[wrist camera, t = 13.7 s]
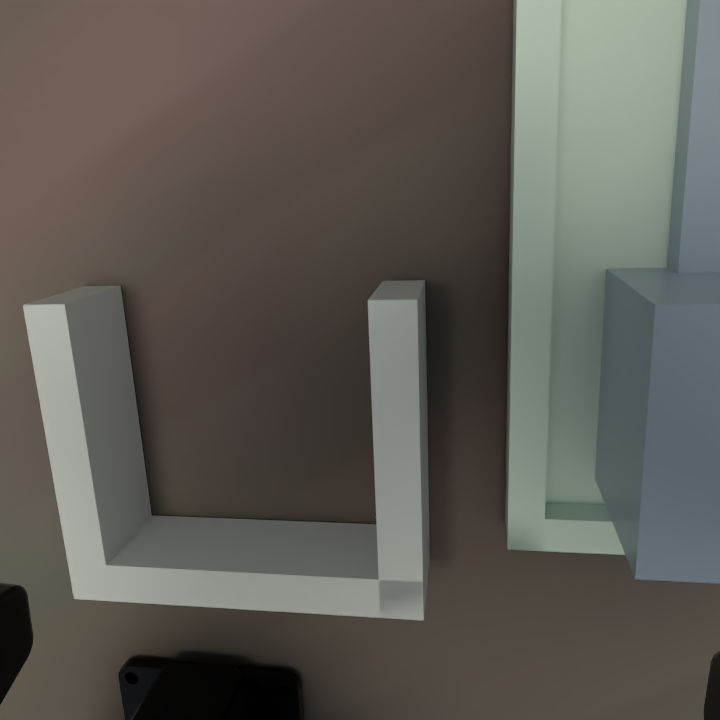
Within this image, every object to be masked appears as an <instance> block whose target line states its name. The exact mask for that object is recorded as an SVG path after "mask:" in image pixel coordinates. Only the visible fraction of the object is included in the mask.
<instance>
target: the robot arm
mask: <svg viewBox="0 0 720 720" xmlns="http://www.w3.org/2000/svg"><path fill="white" fill-rule="evenodd" d="M32 644H33V631H32V623H31V616H30V609H29V602H28V595H27V592H26V590H25V589H24V588H23V587H22V586H20V585H14V584H4V583H0V704H1V703H2V701H3V699H4V697H5V696H6V694H7V692H8V691H9V689H10V687H11V685H12V684H13V682H14V680H15V679H16V677H17V675H18V673H19V672H20V670H21V668H22V667H23V665H24V663H25V661H26V660H27V658H28V656H29V654H30V651H31V648H32ZM131 672H132V673H135V674H136V675H137V676H135V675H133V674H132V673H131ZM119 683H120V690H121V696H122V702H123V708H124V714H125V720H304V714H303V701H302V688H301V681H300V678H299V677H298V676H297V675H296V674H295V673H293V672H292V671H289V670H281V669H268V668H255V667H242V666H229V665H215V664H202V663H189V662H176V661H163V660H149V659H136V658H135V659H129V660H128V661H126V663H125V664H124V666H123V667H122V668H121V670H120V672H119ZM281 684H284V685H287V686H288V687H290V688H284V687H283V686H282V685H281ZM704 720H720V652H717V653H716V654H715V655H714V656H713V658H712V661H711V666H710V672H709V679H708V685H707V691H706V698H705V704H704Z"/></svg>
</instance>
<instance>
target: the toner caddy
mask: <svg viewBox="0 0 720 720" xmlns="http://www.w3.org/2000/svg"><path fill="white" fill-rule="evenodd" d="M595 480H596V483H597V485H598V488H599V490H600V493H601V495H602V498H603V500H604V503H605V505H606V508H607V510H608V513H609V515H610V518H611V520H612V523H613V525H614V528H615V530H616V533H617V535H618V538H619V540H620V543H621V545H622V548H623V550H624V553H625V555H626V558H627V560H628V563H629V565H630V568H631V570H632V573H633V575H634V578H635V579H638V580H659V581H679V582H699V583H719V584H720V0H687V9H686V23H685V36H684V49H683V62H682V75H681V88H680V101H679V114H678V127H677V140H676V153H675V166H674V179H673V192H672V205H671V218H670V231H669V244H668V257H667V267H666V268H615V269H606V279H605V298H604V317H603V336H602V355H601V373H600V392H599V411H598V430H597V449H596V467H595Z"/></svg>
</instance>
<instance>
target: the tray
mask: <svg viewBox="0 0 720 720" xmlns="http://www.w3.org/2000/svg"><path fill="white" fill-rule="evenodd" d="M686 9H687V0H513V39H512V103H511V167H510V231H509V295H508V359H507V423H506V487H505V529H506V540H507V550H527V551H549V552H572V553H594V554H617V555H625V553H624V550H623V548H622V545H621V543H620V540H619V538H618V535H617V533H616V530H615V528H614V525H613V523H612V520H611V518H610V515H609V513H608V510H607V508H606V505H605V503H604V500H603V498H602V495H601V493H600V490H599V488H598V485H597V483H596V480H595V467H596V449H597V430H598V411H599V392H600V373H601V355H602V336H603V317H604V298H605V279H606V269H615V268H666V267H667V257H668V244H669V231H670V218H671V205H672V192H673V179H674V166H675V153H676V140H677V127H678V114H679V101H680V88H681V75H682V62H683V49H684V36H685V23H686Z"/></svg>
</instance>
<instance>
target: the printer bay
mask: <svg viewBox="0 0 720 720" xmlns="http://www.w3.org/2000/svg"><path fill="white" fill-rule="evenodd" d="M23 309H24V315H25V321H26V326H27V332H28V338H29V343H30V349H31V355H32V361H33V366H34V372H35V378H36V383H37V389H38V395H39V401H40V406H41V412H42V418H43V424H44V429H45V435H46V441H47V446H48V452H49V458H50V464H51V469H52V475H53V481H54V486H55V492H56V498H57V504H58V509H59V515H60V521H61V527H62V532H63V538H64V544H65V549H66V555H67V561H68V567H69V572H70V578H71V584H72V589H73V595H74V599H84V600H100V601H116V602H132V603H149V604H165V605H181V606H197V607H213V608H229V609H246V610H262V611H278V612H294V613H310V614H327V615H343V616H359V617H375V618H391V619H407V620H424V613H425V603H426V593H427V584H428V574H429V564H430V537H429V477H428V418H427V359H426V299H425V280H405V281H382V283H381V284H380V285H379V286H378V288H377V289H376V290H375V292H374V293H373V294H372V295H371V297H370V298H369V299H368V322H369V347H370V372H371V398H372V423H373V448H374V474H375V499H376V524H356V523H331V522H306V521H281V520H255V519H230V518H205V517H180V516H155V515H152V513H151V506H150V499H149V491H148V484H147V477H146V469H145V462H144V454H143V447H142V440H141V432H140V425H139V417H138V410H137V403H136V395H135V388H134V380H133V373H132V366H131V358H130V351H129V344H128V336H127V329H126V321H125V314H124V307H123V299H122V292H121V286H83V287H80V288H77V289H73V290H70V291H67V292H63V293H60V294H57V295H54V296H50V297H47V298H44V299H40V300H37V301H34V302H31V303H27V304H24V305H23Z"/></svg>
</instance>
